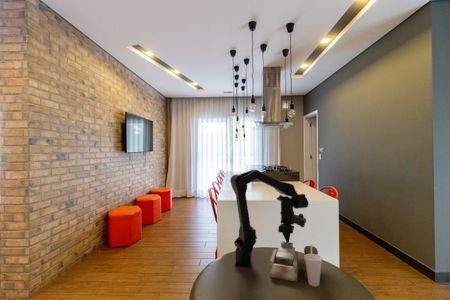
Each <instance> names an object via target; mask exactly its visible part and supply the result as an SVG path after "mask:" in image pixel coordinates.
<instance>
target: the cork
mask: <svg viewBox="0 0 450 300" xmlns="http://www.w3.org/2000/svg"><path fill="white" fill-rule="evenodd" d="M303 252H304V255H305V254H311V246H310V245H306V246H305V247H304V248H303ZM312 254H317V255H318V254H319V251H318V248H317V247H316V246H313V245H312ZM303 276H304V277H305V278H307V279H308V276H307V269H306V263H305V262H304V265H303Z"/></svg>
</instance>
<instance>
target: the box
mask: <svg viewBox="0 0 450 300" xmlns="http://www.w3.org/2000/svg"><path fill="white" fill-rule="evenodd" d="M277 251H278V249H277V248H274V249H273V251H272V255H270V256H271V257H270V259H269V277H270V278H275V279H280V280H286V281H292V282H295V283H296V282H298V273H299V252H298V251H295V253H294V259H293V260H288V259H281V258H276V254H277Z"/></svg>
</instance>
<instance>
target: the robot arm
mask: <svg viewBox="0 0 450 300" xmlns="http://www.w3.org/2000/svg"><path fill="white" fill-rule="evenodd" d="M229 180H230V181H229V182H230V185H231V188H232V190H233V191H234V195H235V199H236V205H237V213H238V219H239V229H238V237H236V239H235V240H234V241H233V243H234V245H235V246H234V247H236V249H235V262H234V266H238V267H242V268H249V267H250V265H251V264H252V262H253V249H254V246H255V245H256V243H257V239H258V237H257V230H256V228H254V227H253V226H252V225H251V222H250V213H249V208H248V202H247V201H248V200H247V195H246V194H247V190H248V184H250V183H252V182H254V181H255V180H257V181H259V182H261V183H263V184H265V185H267V186H270V187H272V188H273V189H274V190H275V191H276V192H278V193H279V196H278V197H277V198H276V201H279V202H280V224H279V225H278V230H277V231H278V233H282V236H283V237H284V239H285V242H289V243H290V238H291V234H294V229H295V225H297V226H299V227H300V228H305V225H306V222H307V219H306V218H305V217H304V216H305V215H304V214H302V213H299V214H295V211H294V209H295V210H296V209H297V210H298V209H305V208H306V209H307V208H308V207H309V201H308V198H307V197H306V194H305V193H298V191H296V189H295V185H294V184H292V183H290V182H289V183H288V182H285V181H280V180H278V179H276V178H273V177H271V176H269V175H267V174H265V173H263V172H262V171H260V170H258V169H251V170H249V171H246V172H243V173H237V174H233V175H232V176H231V177H230V179H229ZM283 195H284V196H283ZM294 224H295V225H294Z"/></svg>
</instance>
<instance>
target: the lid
mask: <svg viewBox="0 0 450 300" xmlns="http://www.w3.org/2000/svg"><path fill="white" fill-rule="evenodd" d="M293 245H294V243H293V242H290V241H289V242H286V241H281V242H280V245H278V249H277V254H276V258H281V259H288V260H293V259H294V254H295V252H296V247H294V246H293Z"/></svg>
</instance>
